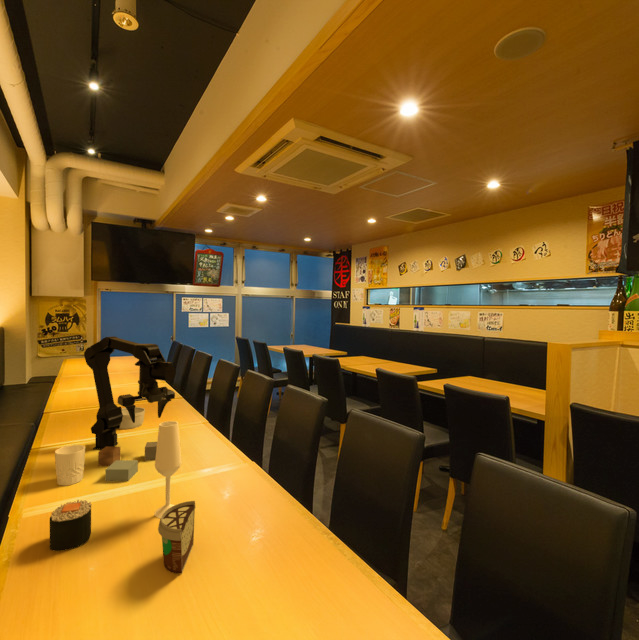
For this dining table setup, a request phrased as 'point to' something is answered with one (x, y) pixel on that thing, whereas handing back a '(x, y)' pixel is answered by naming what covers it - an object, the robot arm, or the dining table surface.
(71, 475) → the white cup
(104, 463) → the walnut block
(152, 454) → the brown block
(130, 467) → the base block
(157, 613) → the dining table surface
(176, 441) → the champagne flute
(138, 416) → the ramekin
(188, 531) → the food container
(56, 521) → the sushi
